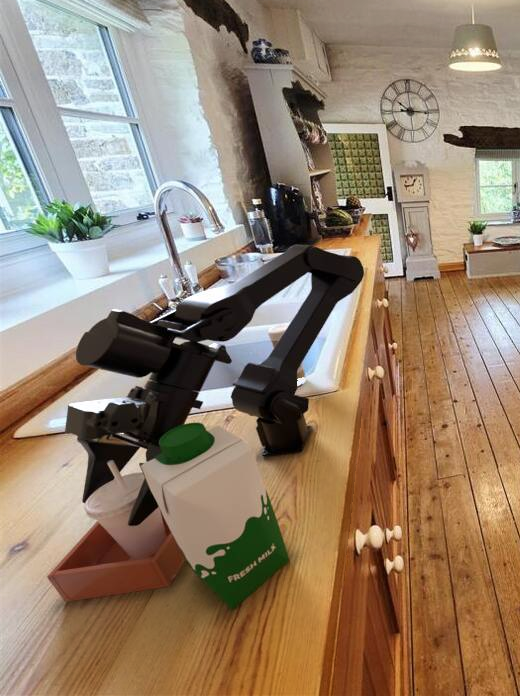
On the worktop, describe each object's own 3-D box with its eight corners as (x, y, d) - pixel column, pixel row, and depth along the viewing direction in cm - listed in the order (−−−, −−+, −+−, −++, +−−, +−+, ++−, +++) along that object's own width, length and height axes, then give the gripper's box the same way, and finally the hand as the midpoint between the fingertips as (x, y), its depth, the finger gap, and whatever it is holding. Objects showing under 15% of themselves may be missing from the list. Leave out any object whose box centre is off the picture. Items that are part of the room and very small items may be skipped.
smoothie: (170, 559, 51) (126, 474, 46) (107, 578, 49) (52, 492, 44) (186, 519, 57) (148, 438, 51) (129, 535, 55) (83, 453, 49)
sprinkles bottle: (303, 375, 92) (289, 321, 87) (309, 383, 89) (294, 328, 84) (281, 383, 90) (265, 327, 84) (287, 392, 86) (270, 334, 81)
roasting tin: (217, 509, 59) (206, 485, 57) (169, 586, 49) (155, 560, 47) (131, 520, 58) (118, 497, 56) (65, 602, 47) (46, 576, 46)
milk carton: (262, 527, 56) (215, 405, 48) (301, 558, 51) (257, 430, 43) (189, 582, 49) (121, 451, 41) (228, 624, 45) (160, 486, 37)
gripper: (59, 357, 50) (-25, 492, 45) (154, 385, 43) (69, 546, 38) (154, 379, 60) (94, 492, 55) (244, 404, 53) (185, 535, 48)
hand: (109, 513), depth 49 cm, fingers open, 9 cm apart
